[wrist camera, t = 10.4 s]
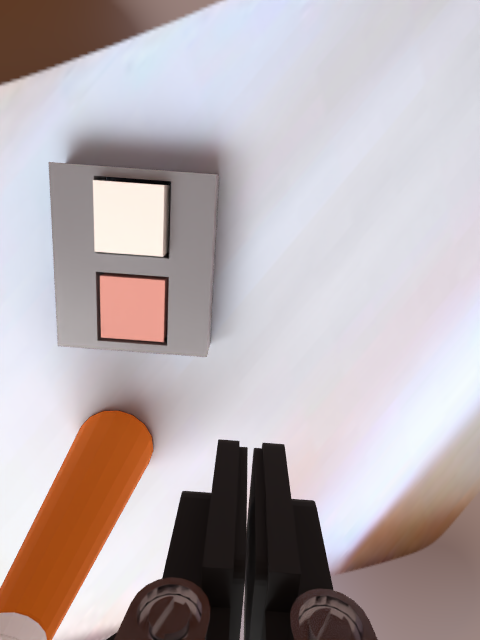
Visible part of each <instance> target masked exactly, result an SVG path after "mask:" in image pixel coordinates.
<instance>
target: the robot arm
mask: <svg viewBox="0 0 480 640" xmlns="http://www.w3.org/2000/svg"><path fill="white" fill-rule="evenodd" d="M246 520H247V447H239V441H232V440H218V446H217V454H216V462H215V470H214V477H213V485H212V493H205V492H192V491H183V492H182V494H181V498H180V503H179V507H178V511H177V516H176V520H175V525H174V529H173V534H172V538H171V542H170V547H169V551H168V556H167V560H166V565H165V569H164V573H163V578H162V579H159V580H156V581H154V582H152V583H150V584H148V585H146V586H145V587H144V588H143V589H142V590H140V591H139V592H138V593H137V595H136V596H135V598H134V599H133V601H132V602H131V604H130V606H129V608H128V610H127V613H126V615H125V617H124V619H123V621H122V623H121V625H120V628H119V630H118V632H117V633H115V634H114V635H112V636H111V637H110V638H108V639H107V640H239V638H240V628H241V616H242V606H243V595H244V584H245V602H244V640H378V639H377V637H376V634H375V632H374V630H373V628H372V625H371V623H370V621H369V619H368V617H367V616H366V614H365V612H364V611H363V609H362V608H361V607H360V606H359V605H358V604H357V603H356V602H355V601H354V600H352V599H351V598H349V597H347V596H346V595H344V594H342V593H340V592H337V591H334V590H333V586H332V581H331V576H330V571H329V566H328V562H327V557H326V552H325V547H324V542H323V537H322V532H321V527H320V522H319V517H318V512H317V507H316V504H315V502H314V501H312V500H299V499H291V492H290V485H289V477H288V469H287V461H286V453H285V446H284V444H272V443H263V444H262V449H261V448H254V453H253V464H252V475H251V486H250V497H249V508H248V520H247V531H246Z"/></svg>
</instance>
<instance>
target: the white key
mask: <svg viewBox="0 0 480 640" xmlns="http://www.w3.org/2000/svg"><path fill="white" fill-rule="evenodd" d="M93 206H94V249H95V252H107V253H120V254H134V255H148V256H161V257H163V256H164V255H165V254H167V253H168V252H169V213H170V185H159V184H145V183H131V182H118V181H104V180H93Z"/></svg>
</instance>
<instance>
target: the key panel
mask: <svg viewBox="0 0 480 640" xmlns="http://www.w3.org/2000/svg"><path fill="white" fill-rule="evenodd" d="M106 177H119V178H133V179H147V180H161V181H171V210H170V251H169V253H167V254H165V255H164V256H163V257H161V256H148V255H134V254H120V253H107V252H95V249H94V206H93V180H104V181H106ZM49 178H50V198H51V218H52V238H53V258H54V278H55V299H56V319H57V339H58V346H64V347H78V348H91V349H105V350H119V351H132V352H146V353H159V354H173V355H186V356H200V357H207V354H208V350H209V346H210V334H211V316H212V297H213V278H214V259H215V241H216V222H217V203H218V184H219V175H217V174H206V173H192V172H178V171H164V170H150V169H137V168H123V167H109V166H95V165H81V164H68V163H54V162H49ZM105 272H107V273H121V274H135V275H148V276H162V277H169V292H168V333H167V337H166V339H165V340H164V342H156V341H143V340H129V339H115V338H102V337H101V311H100V275H102V274H104V273H105Z"/></svg>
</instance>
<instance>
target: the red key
mask: <svg viewBox="0 0 480 640" xmlns="http://www.w3.org/2000/svg"><path fill="white" fill-rule="evenodd" d="M168 292H169V277H162V276H148V275H135V274H121V273H107V272H105V273H104V274H102V275H100V311H101V337H102V338H115V339H129V340H143V341H156V342H164V340H165V339H166V337H167V333H168Z"/></svg>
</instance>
